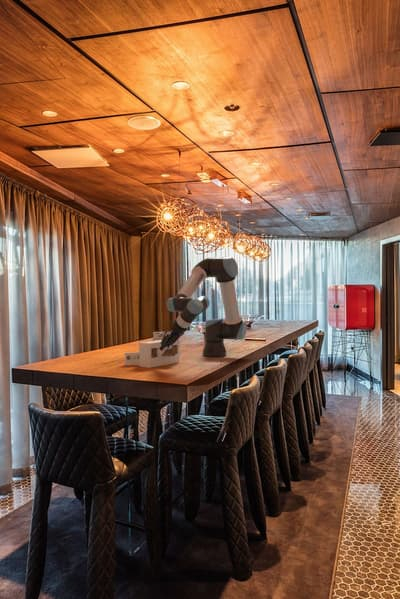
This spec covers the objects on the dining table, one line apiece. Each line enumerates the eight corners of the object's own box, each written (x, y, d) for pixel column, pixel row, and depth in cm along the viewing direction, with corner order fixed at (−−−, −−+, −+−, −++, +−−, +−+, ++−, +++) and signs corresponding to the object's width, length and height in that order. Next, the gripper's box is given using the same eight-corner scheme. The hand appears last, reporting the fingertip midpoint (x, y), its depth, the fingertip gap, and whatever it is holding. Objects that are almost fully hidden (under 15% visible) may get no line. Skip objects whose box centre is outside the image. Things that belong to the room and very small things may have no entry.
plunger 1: (145, 354, 259) (145, 347, 258) (157, 356, 253) (156, 348, 253) (139, 355, 255) (139, 347, 255) (151, 357, 249) (151, 349, 249)
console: (169, 360, 272) (169, 338, 271) (179, 362, 267) (179, 339, 266) (139, 366, 253) (139, 342, 253) (149, 367, 248) (149, 343, 248)
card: (143, 364, 259) (143, 352, 259) (143, 364, 257) (143, 352, 257) (125, 365, 257) (124, 352, 257) (125, 365, 256) (124, 352, 256)
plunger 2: (165, 351, 271) (165, 344, 271) (176, 353, 265) (176, 345, 265) (160, 352, 268) (159, 345, 267) (171, 354, 262) (171, 346, 262)
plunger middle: (163, 354, 261) (163, 346, 261) (174, 355, 255) (174, 347, 255) (157, 355, 258) (157, 347, 258) (169, 356, 252) (169, 348, 252)
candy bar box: (172, 358, 280) (172, 331, 280) (170, 360, 275) (170, 332, 275) (155, 358, 283) (155, 331, 282) (152, 359, 278) (152, 332, 278)
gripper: (177, 329, 231) (154, 360, 242) (194, 328, 241) (171, 357, 252) (169, 318, 234) (146, 349, 245) (186, 317, 244) (164, 347, 255)
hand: (159, 353), depth 248 cm, fingers closed
